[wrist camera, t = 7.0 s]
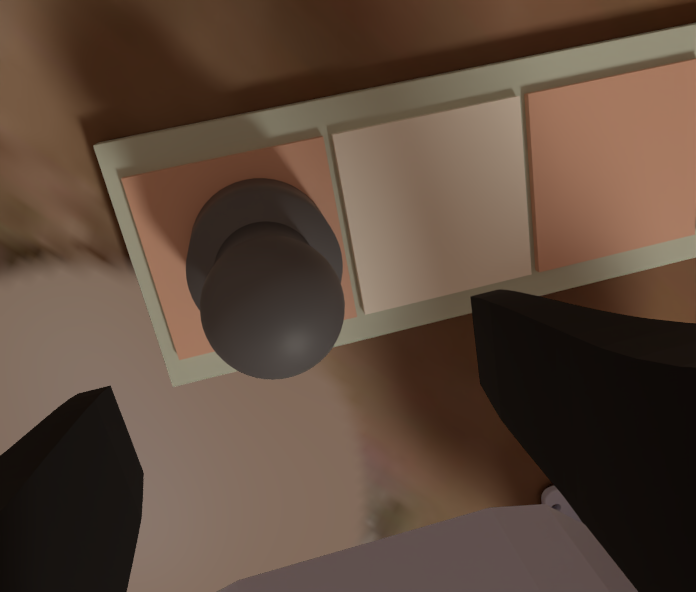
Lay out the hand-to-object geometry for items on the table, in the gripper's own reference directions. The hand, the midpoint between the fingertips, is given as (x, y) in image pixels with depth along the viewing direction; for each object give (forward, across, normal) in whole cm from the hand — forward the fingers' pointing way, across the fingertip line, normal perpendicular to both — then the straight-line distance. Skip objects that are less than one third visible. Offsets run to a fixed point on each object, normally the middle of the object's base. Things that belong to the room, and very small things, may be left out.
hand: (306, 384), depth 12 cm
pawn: (+9, 0, 0) cm, 9 cm away
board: (+10, -9, 0) cm, 14 cm away
